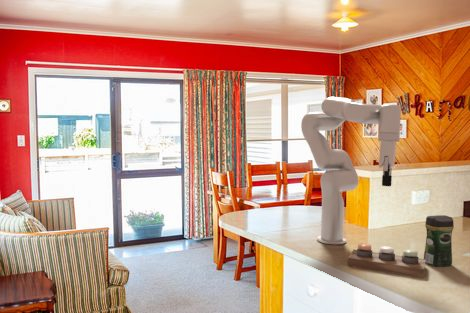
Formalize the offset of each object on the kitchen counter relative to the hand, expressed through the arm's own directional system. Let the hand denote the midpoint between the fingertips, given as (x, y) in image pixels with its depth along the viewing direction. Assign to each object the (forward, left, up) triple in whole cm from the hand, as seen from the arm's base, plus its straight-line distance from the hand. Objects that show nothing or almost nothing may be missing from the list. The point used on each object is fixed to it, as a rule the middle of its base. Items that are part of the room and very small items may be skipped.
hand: (386, 185), depth 168 cm
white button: (+7, +2, -23) cm, 24 cm away
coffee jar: (-6, +19, -29) cm, 35 cm away
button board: (+7, +2, -29) cm, 30 cm away
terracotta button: (+7, -6, -23) cm, 25 cm away
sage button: (+7, +10, -23) cm, 26 cm away
